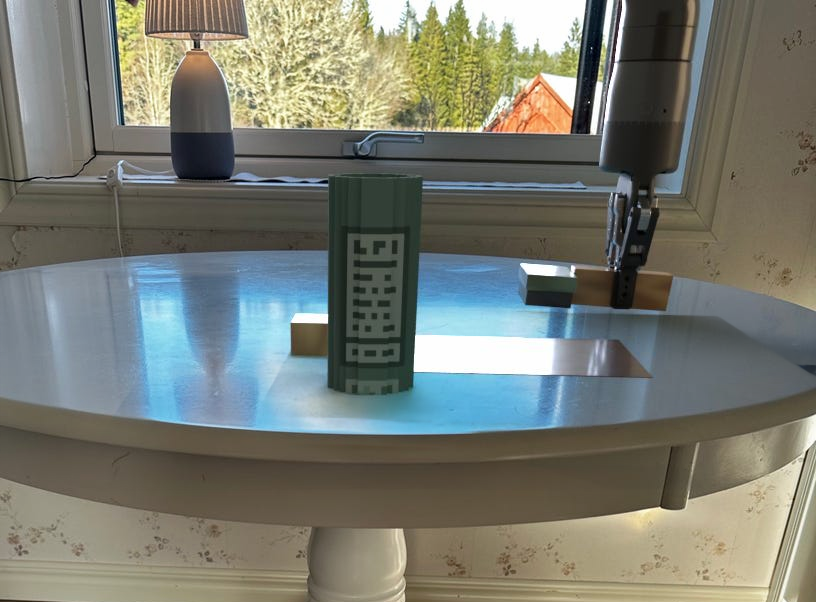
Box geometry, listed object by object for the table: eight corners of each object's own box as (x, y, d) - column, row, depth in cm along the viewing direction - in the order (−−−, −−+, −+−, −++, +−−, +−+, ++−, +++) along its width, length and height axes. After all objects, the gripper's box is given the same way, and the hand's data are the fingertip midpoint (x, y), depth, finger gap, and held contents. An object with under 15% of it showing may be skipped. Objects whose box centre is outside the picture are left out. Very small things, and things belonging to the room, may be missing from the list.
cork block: (343, 314, 79) (295, 313, 79) (340, 323, 76) (290, 322, 76) (343, 363, 81) (296, 362, 81) (340, 374, 78) (291, 373, 78)
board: (616, 356, 84) (618, 339, 83) (650, 397, 72) (653, 377, 71) (389, 351, 85) (389, 334, 84) (384, 391, 73) (385, 371, 72)
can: (407, 393, 72) (416, 173, 65) (415, 415, 67) (426, 178, 60) (326, 393, 72) (327, 172, 65) (328, 415, 67) (329, 177, 60)
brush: (654, 302, 103) (662, 268, 101) (672, 316, 96) (680, 279, 94) (515, 292, 104) (520, 258, 102) (523, 305, 97) (528, 268, 95)
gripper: (704, 118, 85) (669, 319, 93) (668, 118, 97) (640, 296, 106) (619, 117, 86) (592, 317, 94) (593, 117, 98) (572, 294, 106)
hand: (618, 305), depth 100 cm, fingers closed on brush, 2 cm apart
